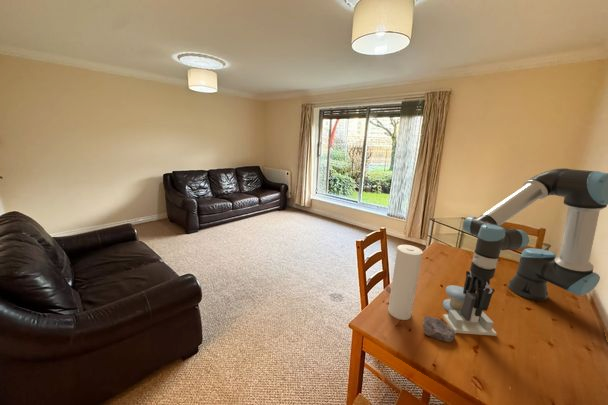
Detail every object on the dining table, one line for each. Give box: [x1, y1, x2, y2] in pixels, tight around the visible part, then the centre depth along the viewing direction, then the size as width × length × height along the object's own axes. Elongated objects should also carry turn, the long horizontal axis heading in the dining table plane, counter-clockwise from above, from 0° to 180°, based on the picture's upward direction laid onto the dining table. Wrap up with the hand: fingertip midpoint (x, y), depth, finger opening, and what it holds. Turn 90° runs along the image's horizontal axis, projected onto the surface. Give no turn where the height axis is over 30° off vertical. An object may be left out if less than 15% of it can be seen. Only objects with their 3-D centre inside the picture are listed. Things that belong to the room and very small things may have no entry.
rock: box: [422, 316, 457, 343], centre depth 95 cm, size 8×11×5 cm
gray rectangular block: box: [461, 292, 483, 322], centre depth 98 cm, size 5×4×10 cm
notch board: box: [442, 310, 497, 337], centre depth 100 cm, size 16×9×5 cm, turn 87°
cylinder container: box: [387, 244, 424, 321], centre depth 103 cm, size 9×9×30 cm
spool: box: [442, 284, 465, 316], centre depth 110 cm, size 11×11×8 cm
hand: (470, 317), depth 99 cm, fingers closed on gray rectangular block, 4 cm apart
